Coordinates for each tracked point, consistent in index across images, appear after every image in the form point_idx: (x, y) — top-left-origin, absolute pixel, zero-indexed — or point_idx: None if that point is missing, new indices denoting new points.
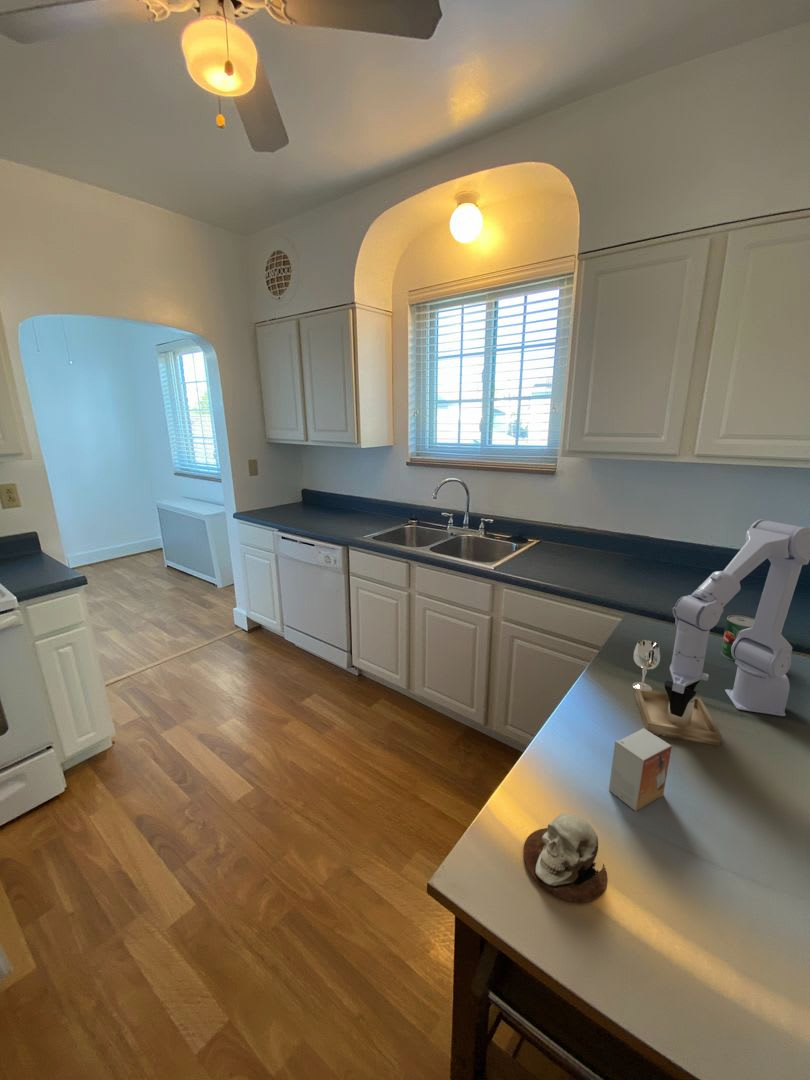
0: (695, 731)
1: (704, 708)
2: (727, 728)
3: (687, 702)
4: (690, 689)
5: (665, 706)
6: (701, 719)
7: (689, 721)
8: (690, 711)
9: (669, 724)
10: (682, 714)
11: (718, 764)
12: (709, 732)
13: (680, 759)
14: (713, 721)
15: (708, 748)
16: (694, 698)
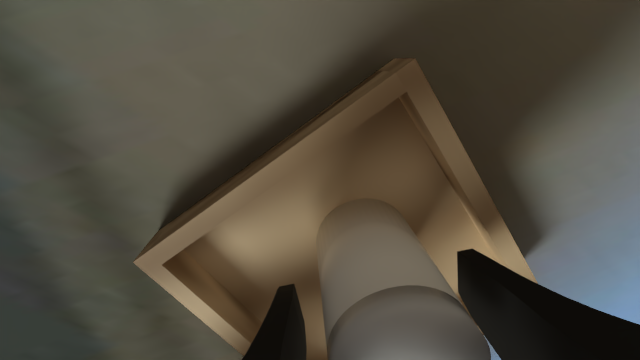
0: (470, 161)
1: (219, 211)
2: (212, 82)
3: (611, 318)
4: (289, 357)
5: (306, 306)
6: (274, 185)
7: (382, 210)
8: (406, 244)
9: (424, 247)
10: (486, 257)
11: (542, 11)
12: (435, 112)
13: (601, 132)
14: (309, 136)
15: (450, 85)
16: (422, 303)
